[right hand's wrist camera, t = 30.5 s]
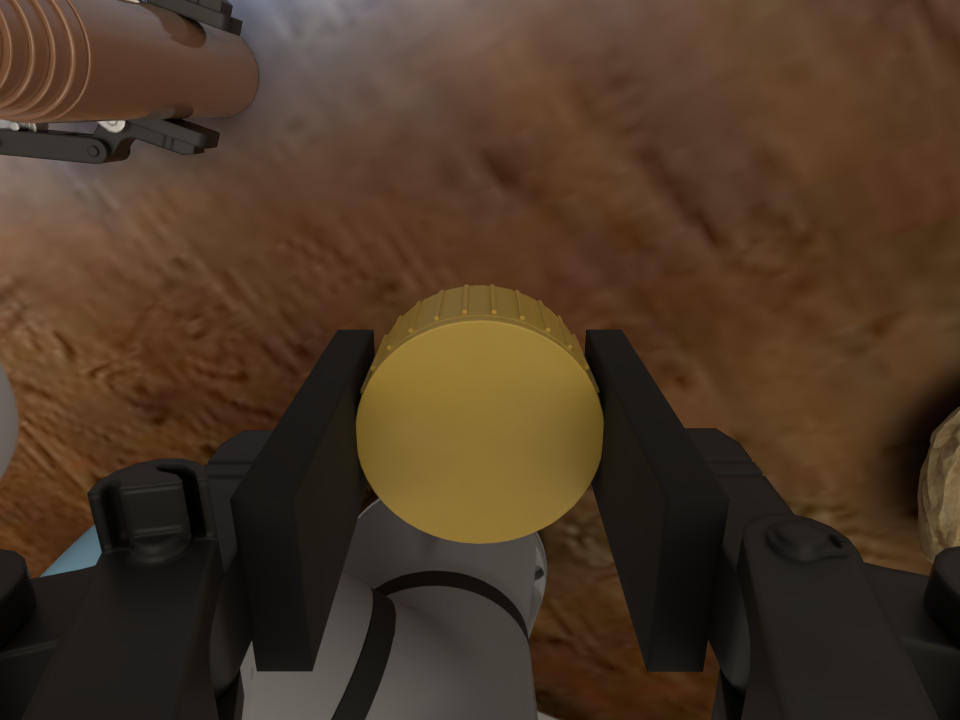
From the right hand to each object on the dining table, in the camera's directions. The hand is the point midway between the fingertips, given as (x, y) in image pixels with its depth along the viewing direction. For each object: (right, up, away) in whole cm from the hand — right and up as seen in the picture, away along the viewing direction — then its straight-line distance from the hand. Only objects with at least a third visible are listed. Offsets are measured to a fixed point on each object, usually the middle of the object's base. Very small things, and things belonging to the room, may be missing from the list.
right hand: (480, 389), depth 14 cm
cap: (0, -1, -2) cm, 2 cm away
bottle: (-15, +17, +24) cm, 33 cm away
